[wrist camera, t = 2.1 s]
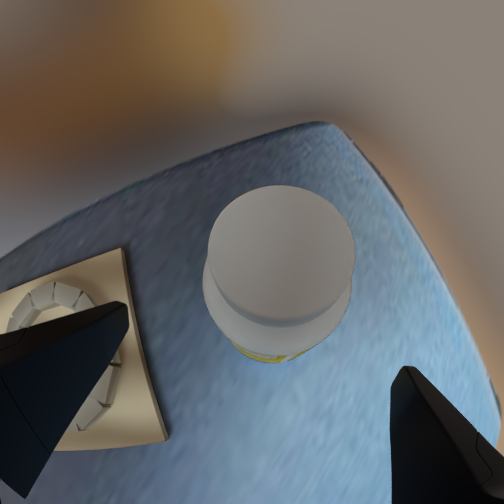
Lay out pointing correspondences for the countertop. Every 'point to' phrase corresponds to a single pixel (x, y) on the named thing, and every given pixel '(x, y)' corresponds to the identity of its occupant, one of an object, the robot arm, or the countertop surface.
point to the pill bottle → (278, 272)
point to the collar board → (119, 370)
